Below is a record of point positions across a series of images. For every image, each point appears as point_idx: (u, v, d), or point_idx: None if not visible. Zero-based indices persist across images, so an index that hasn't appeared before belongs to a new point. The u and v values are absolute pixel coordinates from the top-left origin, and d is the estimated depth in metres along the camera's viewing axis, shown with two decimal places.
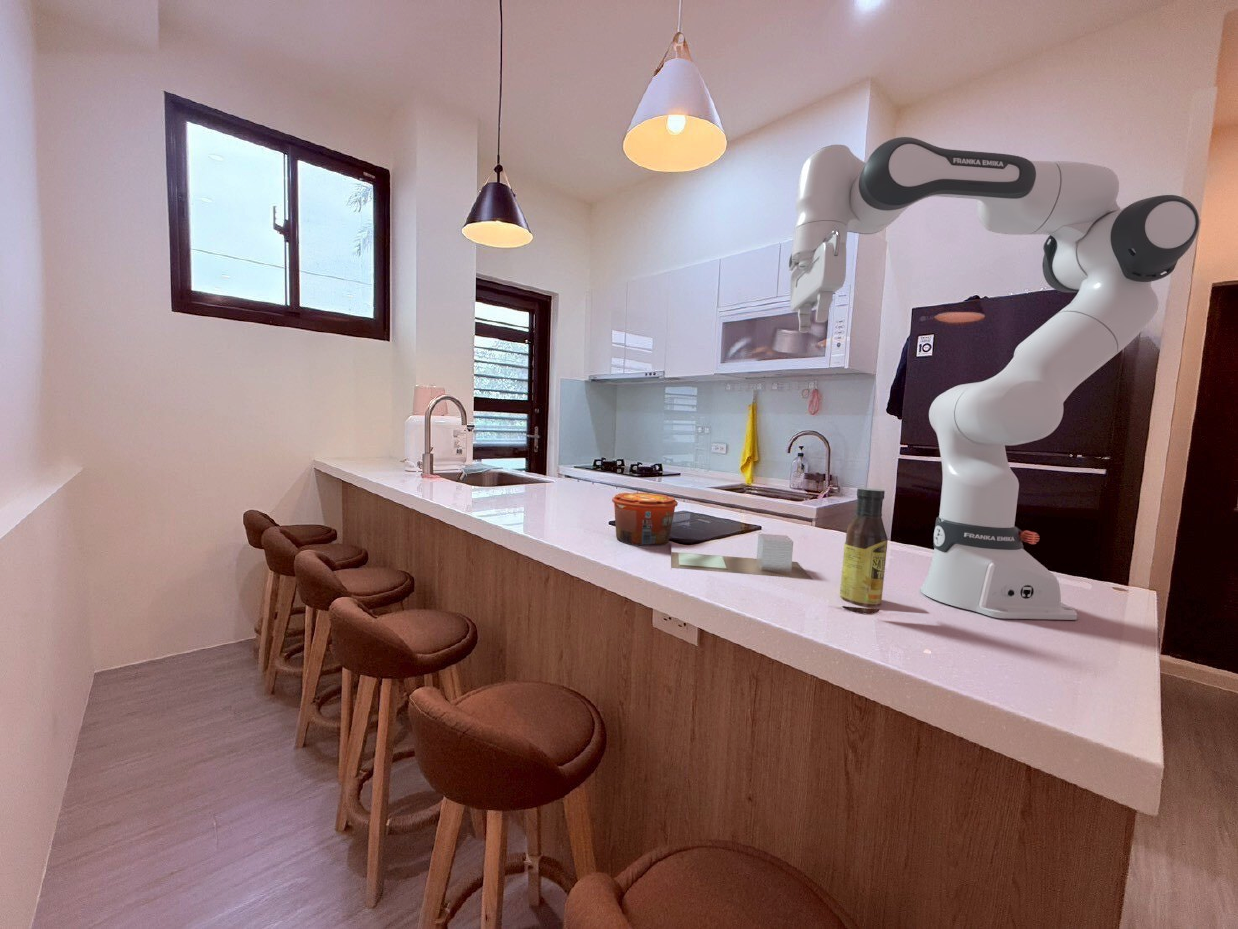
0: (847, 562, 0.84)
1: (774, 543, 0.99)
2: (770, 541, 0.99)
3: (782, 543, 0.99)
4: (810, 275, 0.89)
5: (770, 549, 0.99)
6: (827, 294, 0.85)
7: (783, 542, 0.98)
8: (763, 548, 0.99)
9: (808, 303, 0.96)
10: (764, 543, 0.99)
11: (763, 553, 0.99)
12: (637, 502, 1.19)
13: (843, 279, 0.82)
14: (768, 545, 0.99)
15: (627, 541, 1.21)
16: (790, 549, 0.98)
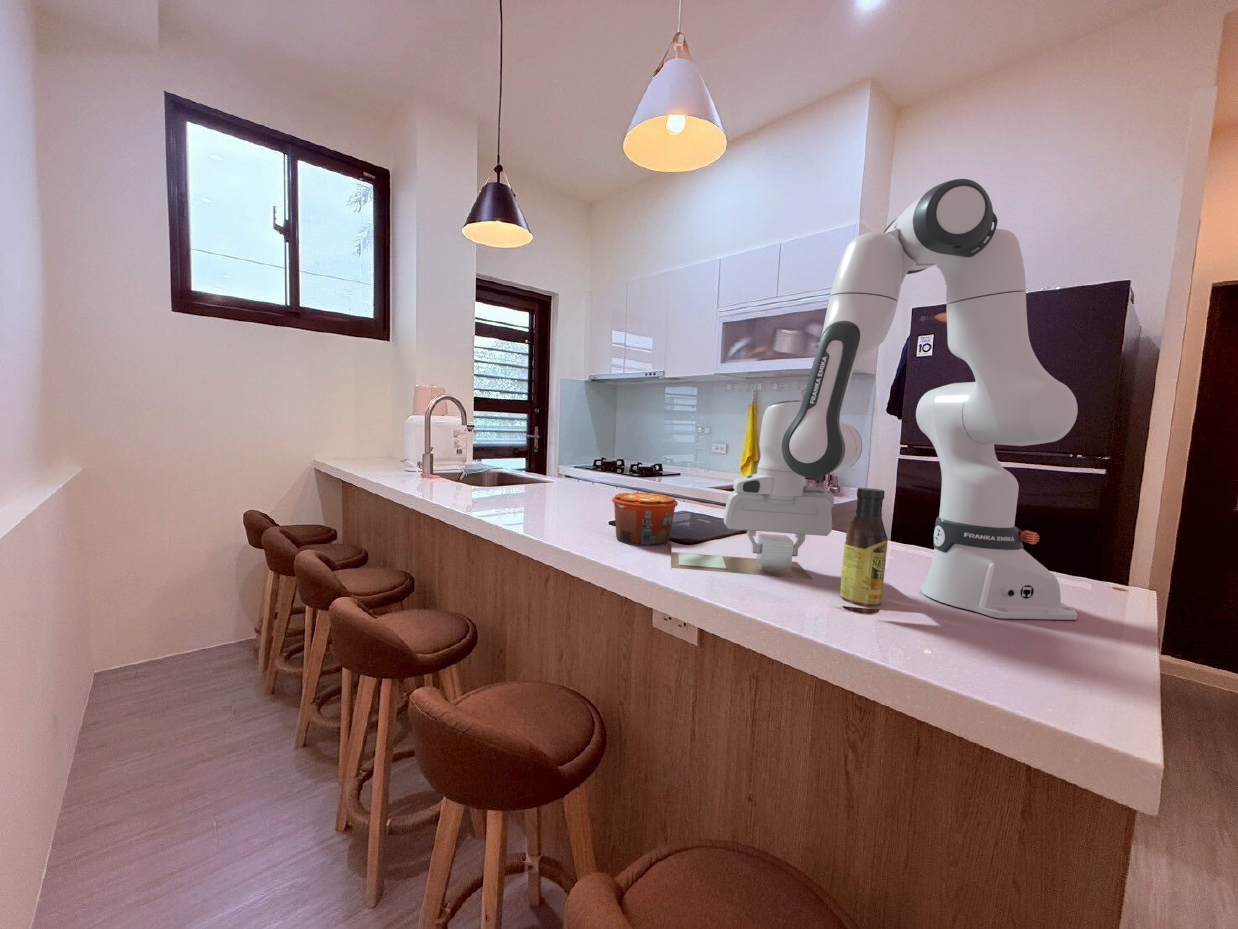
0: (847, 562, 0.84)
1: (774, 543, 0.99)
2: (770, 541, 0.99)
3: (782, 543, 0.99)
4: (793, 515, 0.99)
5: (770, 549, 0.99)
6: None
7: (783, 542, 0.98)
8: (763, 548, 0.99)
9: None
10: (764, 543, 0.99)
11: (763, 553, 0.99)
12: (637, 502, 1.19)
13: None
14: (768, 545, 0.99)
15: (627, 541, 1.21)
16: (790, 549, 0.98)
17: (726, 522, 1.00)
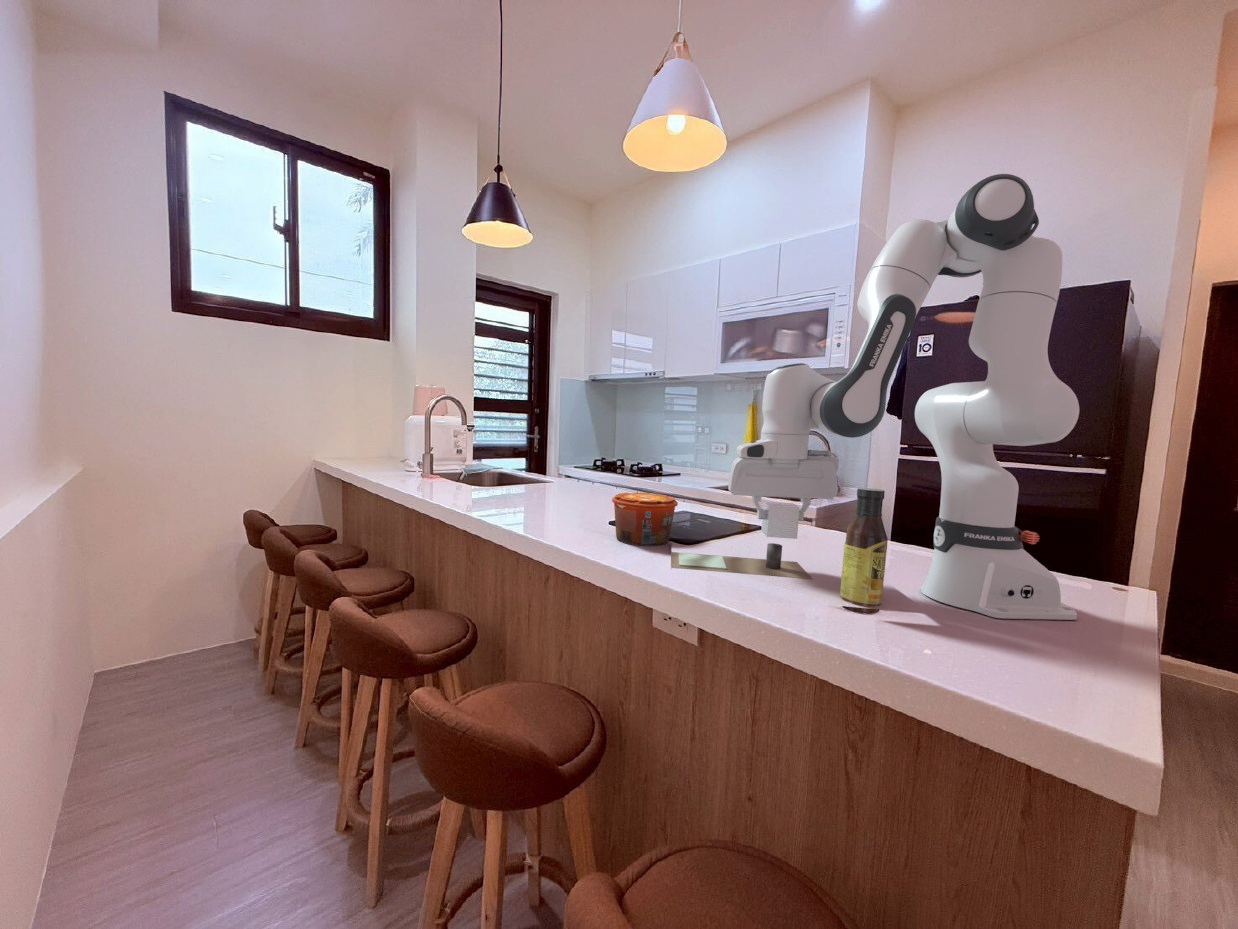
0: (847, 562, 0.84)
1: (780, 509, 0.98)
2: (776, 507, 0.98)
3: (788, 509, 0.98)
4: (798, 479, 0.98)
5: (776, 515, 0.98)
6: None
7: (789, 508, 0.98)
8: (769, 514, 0.98)
9: None
10: (770, 509, 0.98)
11: (769, 519, 0.98)
12: (637, 502, 1.19)
13: None
14: (774, 511, 0.98)
15: (627, 541, 1.21)
16: (796, 514, 0.98)
17: (731, 488, 0.99)
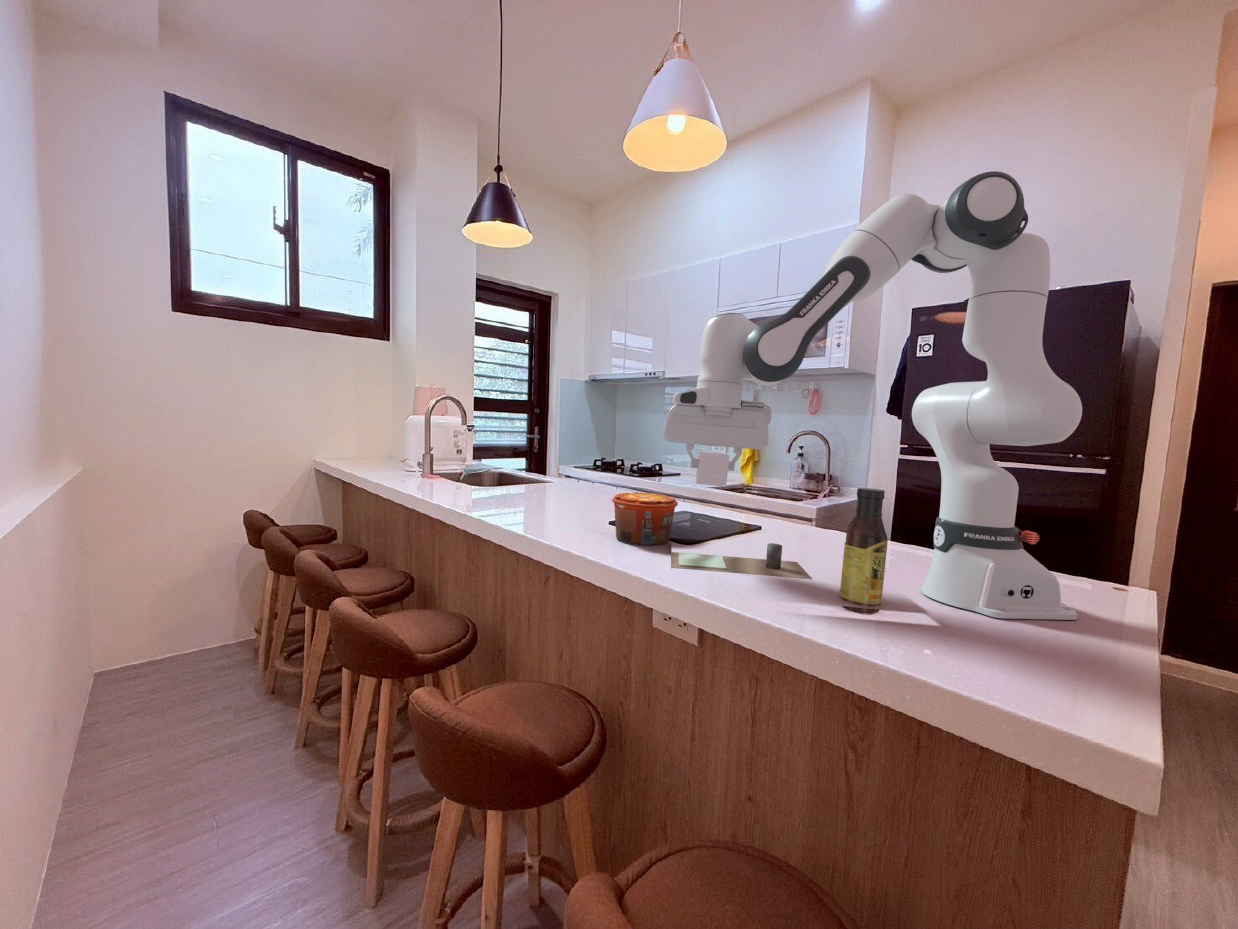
0: (847, 562, 0.84)
1: (710, 456, 0.99)
2: (706, 454, 0.99)
3: (718, 457, 0.99)
4: (730, 428, 0.99)
5: (706, 462, 0.99)
6: None
7: (719, 456, 0.99)
8: (699, 461, 0.99)
9: None
10: (700, 456, 0.99)
11: (699, 466, 0.99)
12: (637, 502, 1.19)
13: None
14: (704, 458, 0.99)
15: (627, 541, 1.21)
16: (726, 462, 0.99)
17: (664, 435, 1.01)
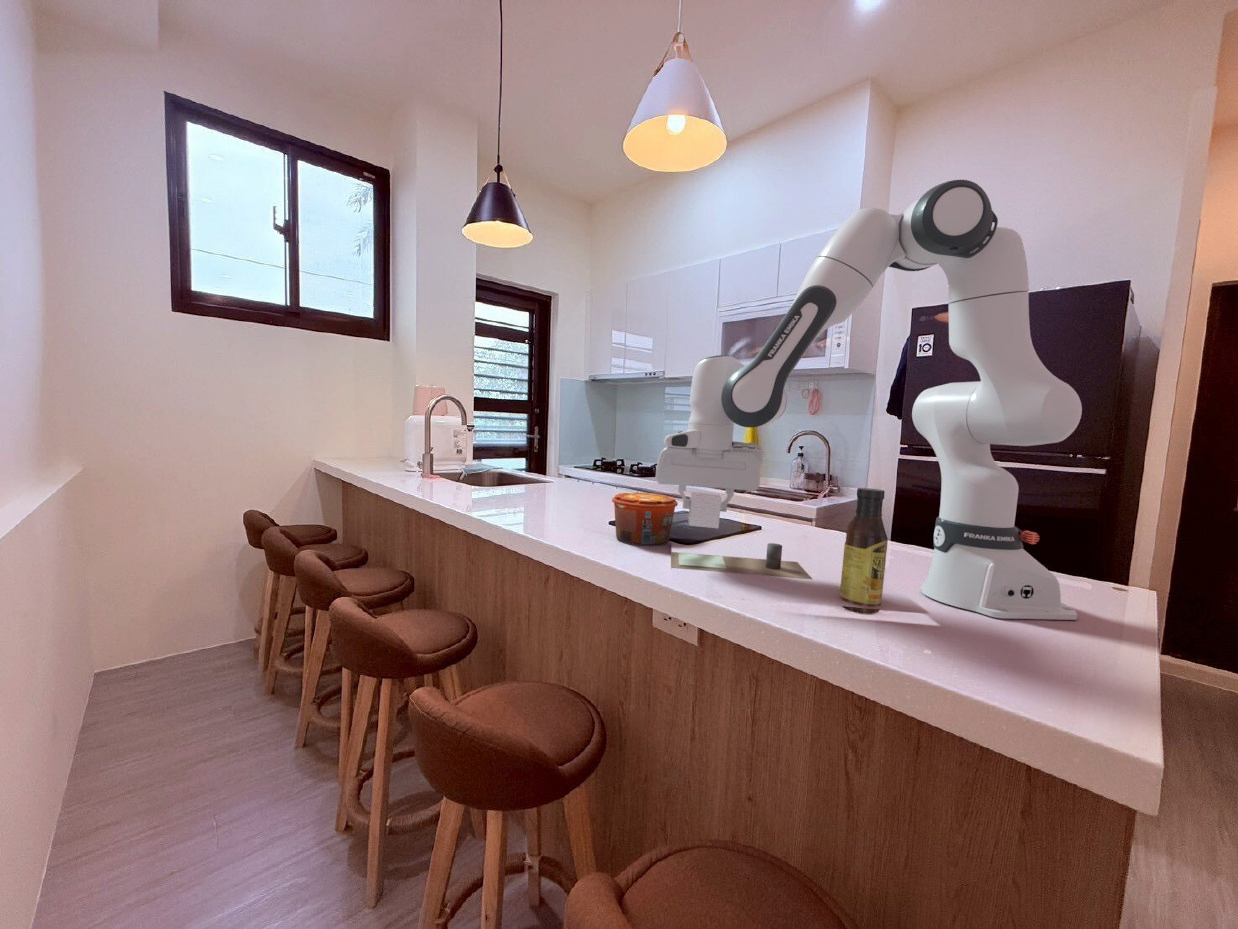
0: (847, 562, 0.84)
1: (702, 498, 0.99)
2: (698, 496, 0.99)
3: (710, 499, 0.99)
4: (722, 470, 0.99)
5: (698, 504, 0.99)
6: None
7: (711, 498, 0.99)
8: (692, 503, 0.99)
9: None
10: (693, 498, 0.99)
11: (691, 508, 0.99)
12: (637, 502, 1.19)
13: None
14: (696, 500, 0.99)
15: (627, 541, 1.21)
16: (718, 504, 0.99)
17: (656, 477, 1.01)
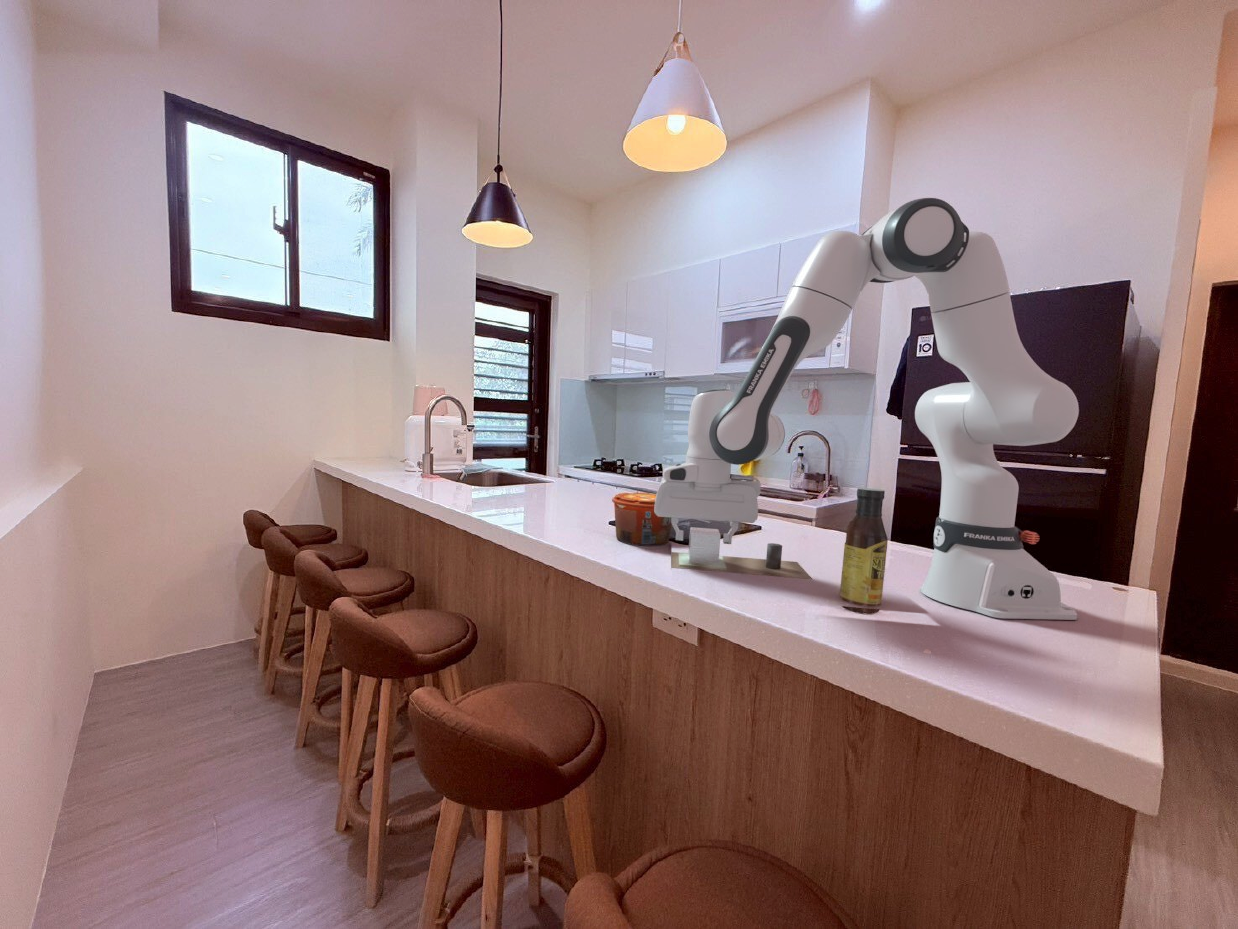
0: (847, 562, 0.84)
1: (702, 536, 1.00)
2: (698, 534, 1.00)
3: (709, 536, 1.00)
4: (720, 503, 1.00)
5: (698, 542, 1.00)
6: None
7: (710, 535, 1.00)
8: (691, 541, 1.00)
9: None
10: (692, 536, 1.00)
11: (691, 546, 1.00)
12: (637, 502, 1.19)
13: None
14: (696, 538, 1.00)
15: (627, 541, 1.21)
16: (717, 542, 1.00)
17: (655, 510, 1.02)
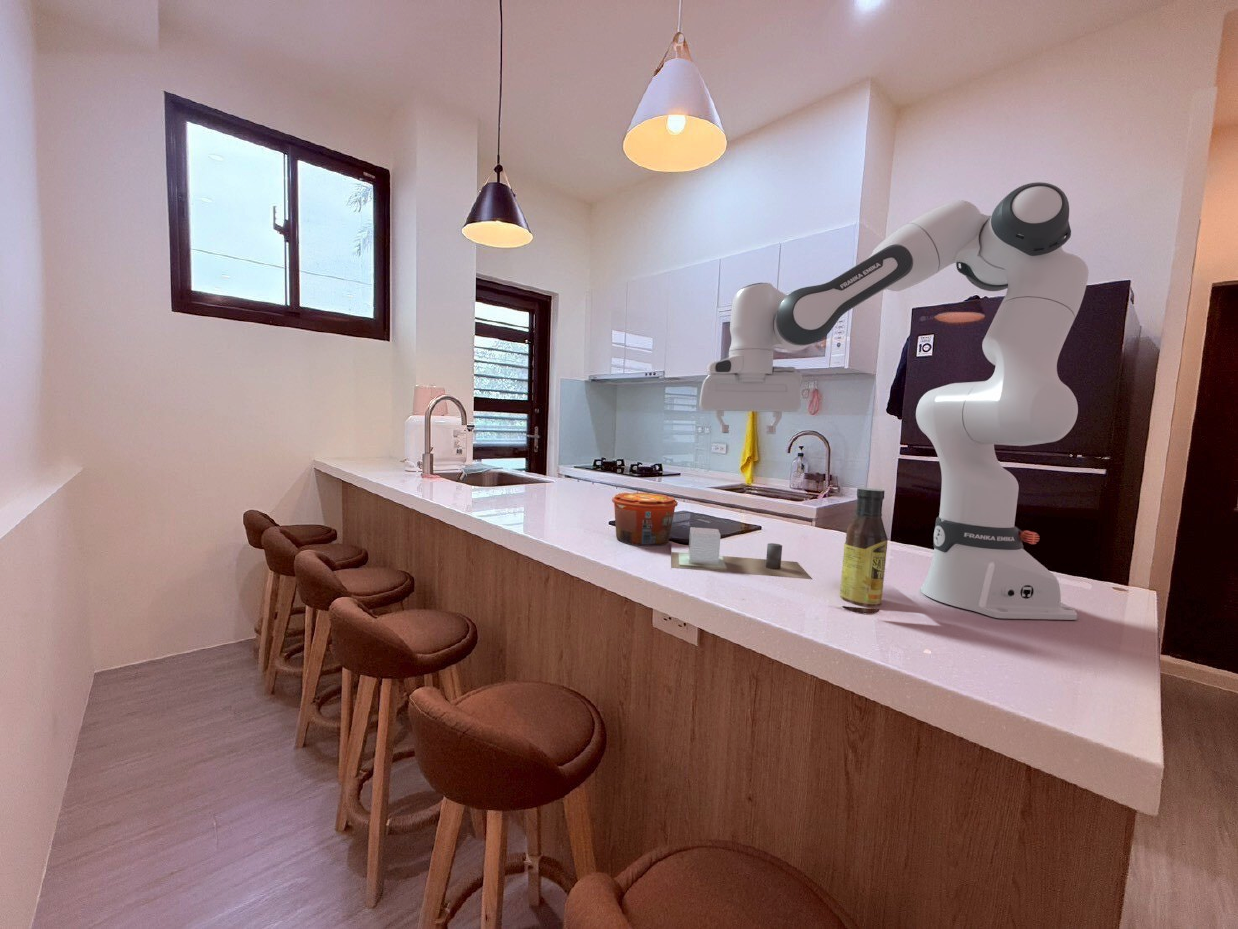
0: (847, 562, 0.84)
1: (702, 536, 1.00)
2: (698, 534, 1.00)
3: (709, 536, 1.00)
4: (764, 393, 1.04)
5: (698, 542, 1.00)
6: None
7: (710, 535, 1.00)
8: (691, 541, 1.00)
9: None
10: (692, 536, 1.00)
11: (691, 546, 1.00)
12: (637, 502, 1.19)
13: None
14: (696, 538, 1.00)
15: (627, 541, 1.21)
16: (717, 542, 1.00)
17: (701, 403, 1.06)
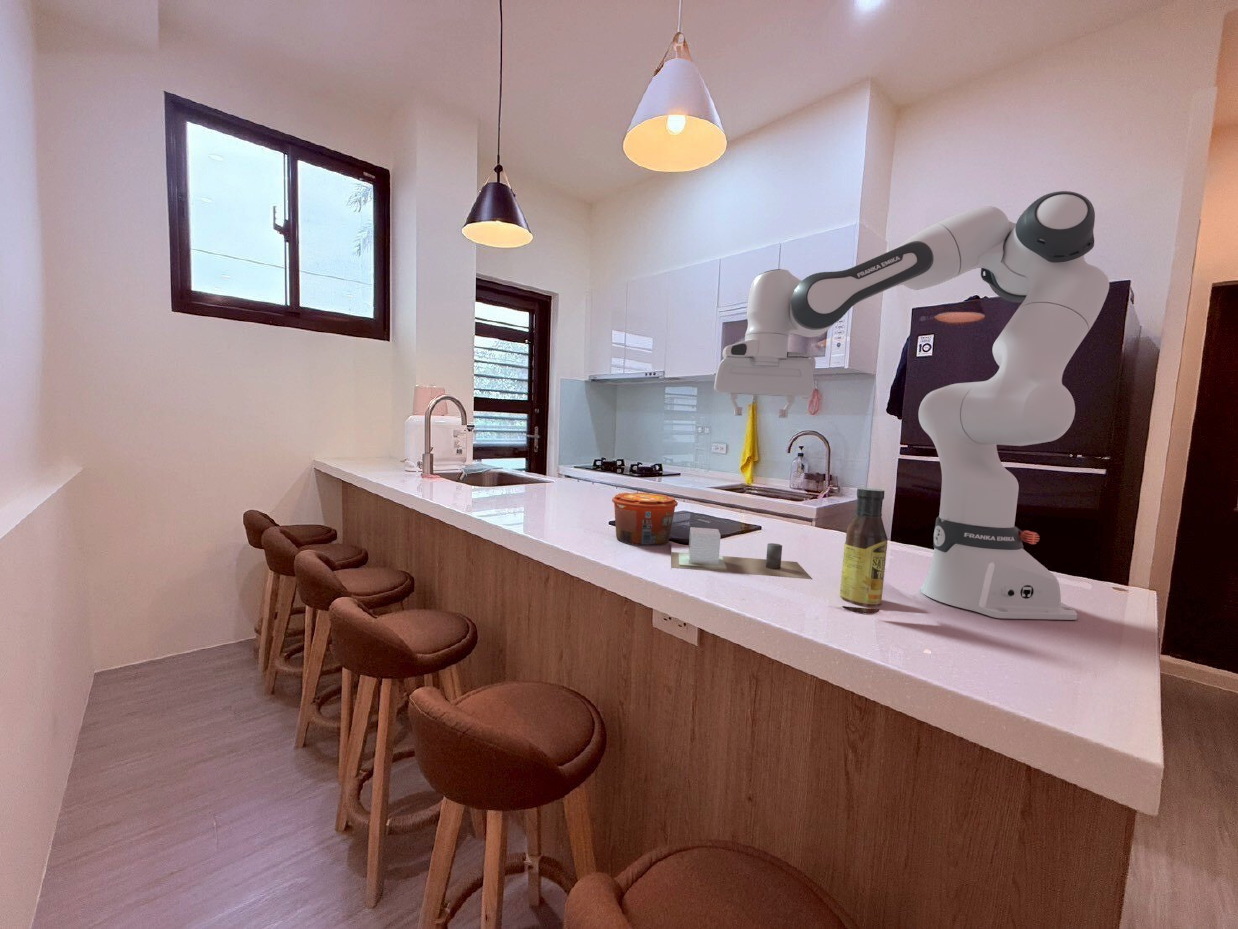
0: (847, 562, 0.84)
1: (702, 536, 1.00)
2: (698, 534, 1.00)
3: (709, 536, 1.00)
4: (778, 377, 1.07)
5: (698, 542, 1.00)
6: None
7: (710, 535, 1.00)
8: (691, 541, 1.00)
9: None
10: (692, 536, 1.00)
11: (691, 546, 1.00)
12: (637, 502, 1.19)
13: None
14: (696, 538, 1.00)
15: (627, 541, 1.21)
16: (717, 542, 1.00)
17: (716, 385, 1.08)
